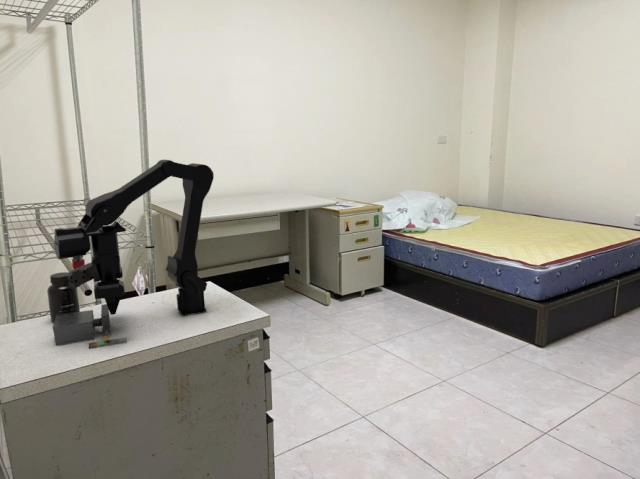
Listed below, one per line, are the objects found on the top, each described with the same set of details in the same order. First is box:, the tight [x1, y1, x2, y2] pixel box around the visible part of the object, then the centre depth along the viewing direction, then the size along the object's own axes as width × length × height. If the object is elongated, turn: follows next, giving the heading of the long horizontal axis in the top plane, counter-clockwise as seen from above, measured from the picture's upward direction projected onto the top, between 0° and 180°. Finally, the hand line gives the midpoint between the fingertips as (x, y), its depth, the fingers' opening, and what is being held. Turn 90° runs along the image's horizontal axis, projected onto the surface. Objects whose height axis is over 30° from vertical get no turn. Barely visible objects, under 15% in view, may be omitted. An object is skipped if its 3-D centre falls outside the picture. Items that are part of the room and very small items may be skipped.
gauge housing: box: [52, 309, 128, 350], centre depth 113 cm, size 15×13×4 cm
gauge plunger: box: [52, 303, 111, 341], centre depth 112 cm, size 12×13×5 cm
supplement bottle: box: [47, 271, 81, 323], centre depth 123 cm, size 7×7×12 cm
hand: (113, 314), depth 117 cm, fingers closed, pressing on gauge plunger
